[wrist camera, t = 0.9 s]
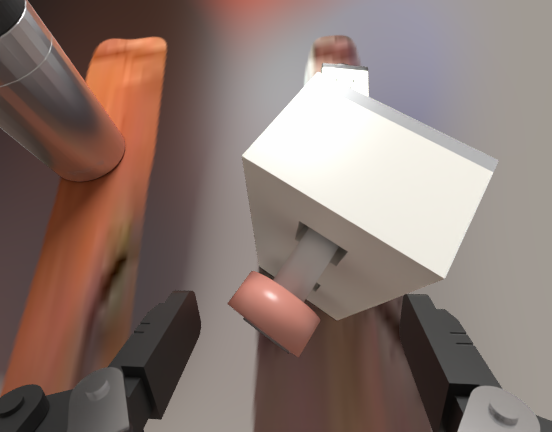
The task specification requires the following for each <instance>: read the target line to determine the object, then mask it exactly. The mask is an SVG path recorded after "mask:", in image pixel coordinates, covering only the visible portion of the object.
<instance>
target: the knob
mask: <svg viewBox="0 0 552 432" xmlns="http://www.w3.org/2000/svg"><path fill="white" fill-rule="evenodd" d="M338 248H339V246H338V245H336V244H335V243H333V242H332V241H330V240H329V239H327V238H325V237H324V236H322V235H321V234H319V233H318V232H316V231H314V230H313V229H311V228H310V227H309V229H308V230H307V232H306V233H305V235H304V236H303V237H302V239H301V240H300V242H299V243H298V245H297V246H296V247H295V249H294V250H293V252H292V253H291V255H290V256H289V257H288V259H287V260H286V262H285V263H284V265H283V266H282V267H281V269H280V270H279V272H278V273H277V275H276V276H275V277H274V279H273V280H271V279H270V278H268V277H266V276H264V275H262V274H260V273H258V272H255V271H251V272H250V274H249V275H248V276H247V278H246V279H245V281H244V282H243V283H242V285H241V286H240V287H239V289H238V290H237V291H236V293H235V294H234V296H233V297H232V298H231V300H230V301H229V302H228V305H230V306H231V307H232V308H233V309H234V310H236V311H237V312H238V313H239V314H241V315H242V316H243V317H244V318H246V319H247V320H248V321H250V322H251V323H252V324H253V325H255V326H256V327H257V328H259V329H260V330H261V331H263V332H264V333H265V334H267V335H268V336H269V337H271V338H272V339H273V340H275V341H276V342H277V343H279V344H280V345H281V346H283V347H284V348H285V349H287V350H288V351H290V352H291V353H292V354H294V355H295V356H297V357H299V356H300V354H301V353H302V351H303V349H304V348H305V346H306V344H307V343H308V341H309V339H310V338H311V336H312V334H313V333H314V331H315V329H316V328H317V326H318V324H319V323H320V319H319V317H318V316H317V315H316V314H315V312H314V311H313V310H311V309H310V308H309V307H308V306H307V305H306V304H305V303H304V301H305V300H306V298H307V296H308V295H309V293H310V292H311V290H312V289H313V287H314V285H315V284H316V282H317V281H318V279H319V278H320V276H321V274H322V273H323V271H324V270H325V268H326V267H327V265H328V263H329V262H330V260H331V259H332V257H333V256H334V254H335V252H336V251H337V249H338Z"/></svg>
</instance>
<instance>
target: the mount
mask: <svg viewBox="0 0 552 432" xmlns="http://www.w3.org/2000/svg"><path fill="white" fill-rule="evenodd" d="M242 160H243V167H244V173H245V179H246V186H247V192H248V199H249V205H250V212H251V219H252V225H253V231H254V238H255V244H256V251H257V258H258V264H259V266H260V267H261V268H262V269H264V270H265V271H267V272H268V273H270V274H271V275H272V276H274V277H275V276H276V275H277V273H278V272H279V270H280V269H281V267H282V266H283V265H284V263H285V262H286V260H287V259H288V257H289V256H290V255H291V253H292V252H293V250H294V249H295V247H296V246H297V245H298V243H299V242H300V240H301V239H302V237H303V236H304V235H305V233H306V232H307V230H308V229H309V227H310V228H311V229H313V230H314V231H316V232H318V233H319V234H321V235H322V236H324V237H325V238H327V239H329V240H330V241H332V242H333V243H335V244H336V245H338V246H339V248H338V249H337V251H336V252H335V254H334V256H333V257H332V259H331V260H330V262H329V263H328V265H327V267H326V268H325V270H324V271H323V273H322V274H321V276H320V278H319V279H318V281H317V282H316V284H315V285H314V287H313V289H312V290H311V292H310V293H309V295H308V296H307V298H306V299H307V300H308V301H310V302H311V303H312V304H314V305H315V306H317V307H318V308H320V309H321V310H322V311H324V312H325V313H327V314H328V315H330V316H331V317H332V318H334V319H335V320H337V321H338V320H340V319H343V318H346V317H348V316H351V315H353V314H356V313H358V312H361V311H363V310H366V309H369V308H371V307H374V306H376V305H379V304H381V303H384V302H386V301H389V300H392V299H394V298H397V297H399V296H402V295H404V294H407V293H410V292H412V291H415V290H417V289H420V288H422V287H425V286H427V285H430V284H432V283H435V282H438V281H440V280H443V279H445V277H446V275H447V273H448V270H449V268H450V266H451V264H452V262H453V259H454V257H455V255H456V253H457V251H458V249H459V246H460V244H461V242H462V240H463V238H464V235H465V233H466V231H467V229H468V227H469V224H470V222H471V220H472V218H473V215H474V214H475V211H476V209H477V207H478V205H479V203H480V200H481V198H482V196H483V194H484V192H485V189H486V187H487V185H488V183H489V181H490V178H491V176H492V174H493V172H494V170H495V168H496V165H497V163H498V161H499V160H497V159H495V158H493V157H491V156H489V155H486V154H484V153H482V152H480V151H478V150H476V149H474V148H472V147H470V146H468V145H466V144H464V143H462V142H460V141H458V140H456V139H454V138H452V137H450V136H448V135H446V134H444V133H442V132H440V131H437V130H436V129H434V128H431V127H429V126H427V125H425V124H423V123H421V122H419V121H417V120H415V119H413V118H411V117H409V116H407V115H405V114H403V113H401V112H399V111H397V110H395V109H392V108H391V107H389V106H387V105H385V104H382V103H380V102H378V101H376V100H374V99H372V98H370V97H368V96H366V95H364V94H362V93H360V92H358V91H356V90H354V89H352V88H350V87H348V86H346V85H344V84H342V83H340V82H338V81H336V80H334V79H332V78H330V77H327V76H325V75H323V74H321V73H319V72H317V73H316V74H315V75H314V77H313V78H312V79H311V80H310V81H309V82H308V83H307V84H306V85H305V86H304V88H303V89H302V90H301V91H300V92H299V93H298V94H297V95H296V97H295V98H294V99H293V100H292V101H291V102H290V103H289V104H288V105H287V106H286V108H285V109H284V110H283V111H282V112H281V113H280V114H279V115H278V117H277V118H276V119H275V120H274V121H273V122H272V123H271V124H270V125H269V126H268V127H267V129H266V130H265V131H264V132H263V133H262V134H261V135H260V136H259V137H258V138H257V140H256V141H255V142H254V143H253V144H252V145H251V146H250V147H249V148H248V150H247V151H246V152H245V153H244V154H243V155H242Z"/></svg>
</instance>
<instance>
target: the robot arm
mask: <svg viewBox="0 0 552 432" xmlns="http://www.w3.org/2000/svg"><path fill="white" fill-rule="evenodd" d="M0 128H1V129H3V130H4V131H5V132H6V133H7V134H9V135H10V136H11V137H13V138H14V139H15V140H16V141H17V142H19V143H20V144H21V145H22V146H24V147H25V148H26V149H27V150H28V151H30V152H31V153H32V154H33V155H35V156H36V157H37V158H38V159H40V160H41V161H42V162H43V163H44V164H46V165H47V166H48V167H49V168H51V169H52V170H53V171H54V172H56V173H57V174H58V175H59V176H61V177H63V178H64V179H67V180H70V181H78V182H81V181H89V180H93V179H96V178H99V177H101V176H103V175H105V174H106V173H108V172H109V171H111V170H112V169H113V168H114V167H115V166H116V165H117V164H118V163H119V161H120V160H121V158H122V156H123V154H124V150H125V141H124V138H123V136H122V134H121V133H120V131H119V130H118V128H117V127H116V126H115V124H114V123H113V121H112V120H111V118H110V117H109V115H108V114H107V112H106V111H105V110H104V108H103V107H102V105H101V104H100V102H99V101H98V100H97V98H96V97H95V95H94V94H93V92H92V91H91V90H90V88H89V87H88V85H87V84H86V83H85V81H84V80H83V78H82V77H81V76H80V74H79V73H78V71H77V70H76V68H75V67H74V65H73V64H72V63H71V61H70V60H69V58H68V57H67V56H66V54H65V53H64V51H63V50H62V48H61V47H60V46H59V44H58V43H57V41H56V40H55V38H54V37H53V36H52V34H51V33H50V32H49V30H48V29H47V27H46V26H45V25H44V23H43V22H42V20H41V19H40V18H39V16H38V15H37V13H36V12H35V10H34V9H33V8H32V6H31V5H30V3H29V2H28V0H0ZM200 330H201V320H200V316H199V310H198V306H197V301H196V296H195V293H194V292H193V291H173V292H172V293H171V294H170V296H169V297H168V299H167V300H166V301H165V303H160V304H158V305H157V306H156V307H154V308H153V309H152V310H150V311H149V312H148V313H147V315H146V316H145V317H144V319H143V320H142V321H141V324H140V325H138V327H137V328H136V330H135V331H134V334H132V335H131V336H130V338H129V339H128V340H127V342H126V343H125V344H124V346H123V347H122V348H121V350H120V351H119V352H118V354H117V355H116V357H115V358H114V359H113V361H112V362H111V363H110V365H109V366H108V367H107V368H102V369H99V370H97V371H95V372H93V373H91V374H89V375H88V376H86V377H85V378H84V379H82V380H81V381H80V382H79V383H78V384H77V385H76V387H75V388H74V389H72V390H68V391H64V392H60V393H55V394H51V395H47V396H45V394H44V392H43V390H42V388H41V387H40V386H38V385H33V384H32V385H25V386H22V387H19V388H16V389H14V390H12V391H10V392H8V393H7V394H5V395H3V396H2V397H1V398H0V432H144V430H143V429H144V426H145V424H146V422H147V420H148V419H162V417H163V414H164V412H165V410H166V408H167V406H168V403H169V401H170V399H171V397H172V395H173V392H174V390H175V388H176V386H177V384H178V381H179V379H180V377H181V375H182V372H183V371H184V368H185V366H186V364H187V362H188V360H189V357H190V355H191V353H192V351H193V349H194V346H195V344H196V342H197V340H198V338H199V335H200ZM399 331H400V340H401V344H402V347H403V350H404V352H405V355H406V358H407V361H408V364H409V366H410V369H411V372H412V375H413V378H414V380H415V383H416V386H417V389H418V391H419V394H420V397H421V400H422V403H423V405H424V408H425V411H426V414H427V416H428V419H429V422H430V425H431V428H432V430H433V432H552V421H550V420H547V419H544V418H542V417H539V416H537V415H535V414H534V412H533V411H532V410H531V409H530V407H529V406H528V405H526V403H524V402H523V401H522V400H521V399H519V398H518V397H517V396H515V395H513V394H512V393H510V392H508V391H506V390H503V389H502V388H501V386H500V384H499V383H498V381H497V380H496V378H495V377H494V375H493V374H492V372H491V370H490V369H489V367H488V366H487V364H486V363H485V361H484V360H483V358H482V356H481V355H480V353H479V352H478V350H477V349H476V347H475V346H473V342H472V341H471V339H470V338H469V336H468V335H466V332H465V330H464V329H463V327H462V325H461V324H460V322H459V321H458V320H457V319H456V318H455V317H454V316H452V315H451V314H450V313H448V312H447V311H446V310H445V309H436V308H435V306H434V304H433V303H432V301H431V299H430V298H429V296H428V295H426V294H405V295H404V296H403V302H402V310H401V319H400V328H399Z"/></svg>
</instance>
